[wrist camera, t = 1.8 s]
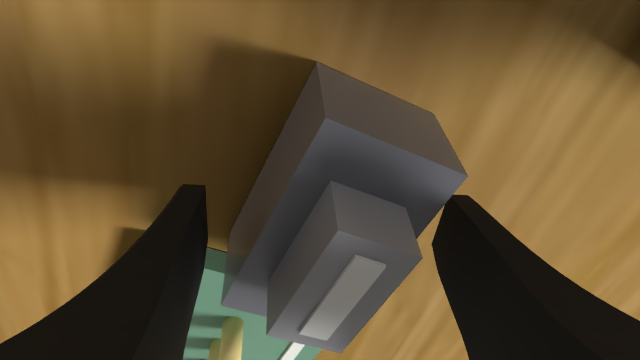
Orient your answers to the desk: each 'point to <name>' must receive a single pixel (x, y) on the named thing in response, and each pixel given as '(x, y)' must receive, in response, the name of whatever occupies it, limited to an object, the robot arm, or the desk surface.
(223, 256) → the header board
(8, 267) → the desk surface
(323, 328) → the plug housing
